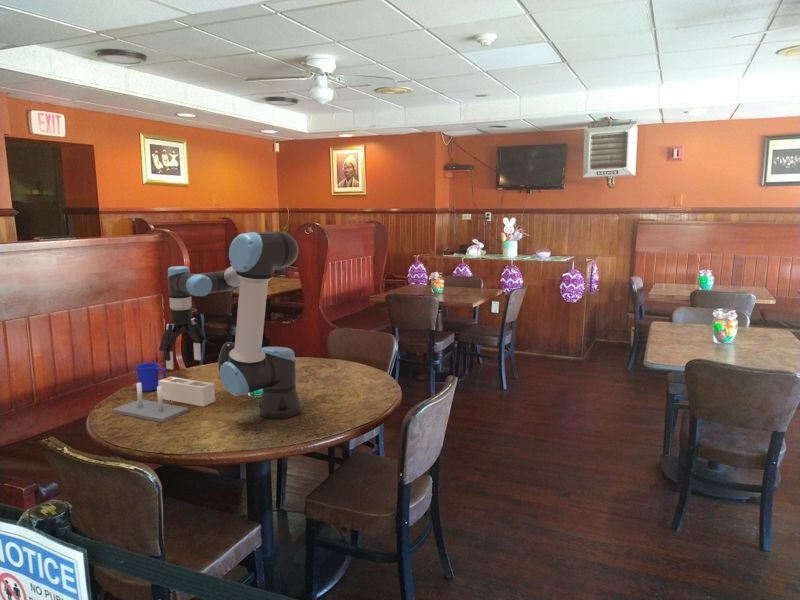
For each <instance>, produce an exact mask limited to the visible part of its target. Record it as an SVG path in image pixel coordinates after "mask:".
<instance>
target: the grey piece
mask: <svg viewBox="0 0 800 600" xmlns="http://www.w3.org/2000/svg"><path fill="white" fill-rule="evenodd" d="M135 386H136V398H137V400H135V401H132V402H129V403H126V404H123V405H121V406H118V407H115V408H112V413H113V414H118V415H123V416H128V417H133V418H139V419H143V420H148V421H153V422H157V423H164V422H167V421H169V420H171V419H174V418H176V417H179V416H181V415H183V414H186V413H189V412H190V408H189V407H185V406H180V405H174V404H169V403H164V399H163V396H162V386H158V387H157V389H156V396H157V401H154V400H152V401H151V400H147V399H143V391H142V386H141V383H139V382H137V383H136V385H135Z"/></svg>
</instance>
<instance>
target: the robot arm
mask: <svg viewBox="0 0 800 600" xmlns="http://www.w3.org/2000/svg"><path fill="white" fill-rule="evenodd" d="M228 249H229V251H228V258H229V261H230V266H229V267H227V268H225V269H224V270H220V271H212V272H201V273H191V271H190V268H189V266H185V265H177V266H176V265H175V266H170V267H168V269H167V286H168V287H167V288H168V296H169V297H168V298H169V309H170V311H169V314H170V320H171V321H172V322H171V323H170V324H169V323H165V324H164V331H163V335H162V338H161V340H160V341H161V342H160V344H159V349H158V350H159V351H160V352H164V353H163V354H164V355H163V356H164V361H165V365H166V366H165V367H166V370H174V369H175V367H174V352H173V351H171V350H172V349H173V347H174V345H175V343H176V341H177V339H178V337H179V336H180V335H183V334H185V333H186V334H188V335H189V336H190V338H191V339H192V340H193V344H192V345H193V358H194V360H195V361H202V352H201V351H202V344H203V343H204V341H206V336H205V335H204V333H203V330H202V329H201V326H200V324H199V319H198V318H197V317H193V309H192V305H193V304H192V296H194V297H205V296H207V295H209V294H214V293H221V292H232V291H236V290H239V292H238V302H237V303H238V304H237V315H236V327H235V338H234V339H235V340H234V344H235V348H234V349H233V350H231V351H230V353H229V361H228V362H225V363H223V364H222V365H221V368H220V373H219V375H220V381H221V383H222V385H223V386H224V388H225V390H226V391H227V392H228V393H229V394H231V395H232V396H236V397H237V396H243V395H248V394H250V393H253V392H256V391H259V390H262V392H261V394H260V395H261V397H260V400H259V403H258V406H257V410H258V411H257V413H258V415H259V416H260V417H262V418H264V419H265V418H266V419H273V420H274V419H276V420H277V419H286V418H291V417H294V416H296V415H299V414H300V413H301V412H302V410H303V406H302V405H303V404H302V402H301V399H300V396H299V393H298V390H297V381H296V380H297V379H296V358H295V357H296V356H295V351H294V350H293V349H291V348H290V347H286V346H285V347H282V346H264V347H263V338H264V337H263V335H264V327H265V316H266V307H267V298H268V297H267V296H268V286H269V281H271V280H272V279H274V277H275V276H274V274H275V270H282V269H284V268H287V267H289V266H291V265H292V264H293V263H294V262H295V261H297V259H298V256H299V246H298V243H297V241H296V239H295V238H294V237H293V236H292V235H291V234H289V233H287V232H284V231H266V232H265V231H261V232H260V231H257V232H255V231H250V232H245V233H240V234H238V235H236V237H235V238H233V240H232V242H231V243H230V245H229V248H228Z"/></svg>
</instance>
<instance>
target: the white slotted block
mask: <svg viewBox="0 0 800 600" xmlns="http://www.w3.org/2000/svg"><path fill="white" fill-rule="evenodd" d="M158 384H159V386H162V396H163V400H165V401H170V400H171V401H170V402H176V403H177V402H178V403H183V404H188V405H193V406H198V407H206V406H208V405H210V404H212V403H216V391H215V383H214V382H207V381H201V380H200V381H199V380H195V379H194V380H193V379H189V378H188V379H187V378H182V377H176V376H168V377H166V378H165V379H158Z"/></svg>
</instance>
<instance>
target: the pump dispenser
mask: <svg viewBox="0 0 800 600" xmlns="http://www.w3.org/2000/svg"><path fill="white" fill-rule="evenodd" d="M234 348H235V342H231V341H228V342H225V343H224V344H223V345H222V347H221V350H220V353H219V355H218V359H217V361H218V362H217V370H218V372H219V374H220V368H221V365H222V364H223V363H225V362H228V361H229V353H230V351H231V350H233V349H234Z"/></svg>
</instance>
